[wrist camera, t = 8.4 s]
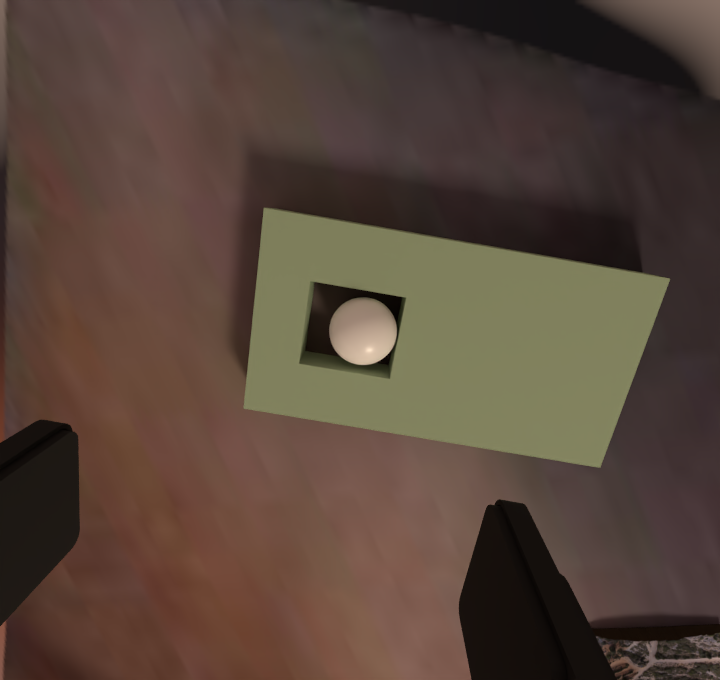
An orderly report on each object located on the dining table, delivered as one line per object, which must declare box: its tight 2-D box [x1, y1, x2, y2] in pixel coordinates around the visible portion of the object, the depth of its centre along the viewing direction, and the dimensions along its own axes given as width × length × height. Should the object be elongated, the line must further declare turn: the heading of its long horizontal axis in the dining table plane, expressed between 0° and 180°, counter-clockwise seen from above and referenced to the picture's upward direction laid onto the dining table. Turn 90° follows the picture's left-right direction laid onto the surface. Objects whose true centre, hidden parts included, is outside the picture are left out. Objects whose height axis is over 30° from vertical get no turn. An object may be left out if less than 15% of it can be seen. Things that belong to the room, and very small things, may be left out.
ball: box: [329, 297, 397, 365], centre depth 26 cm, size 4×4×4 cm
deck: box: [244, 208, 670, 468], centre depth 27 cm, size 22×12×2 cm, turn 80°
